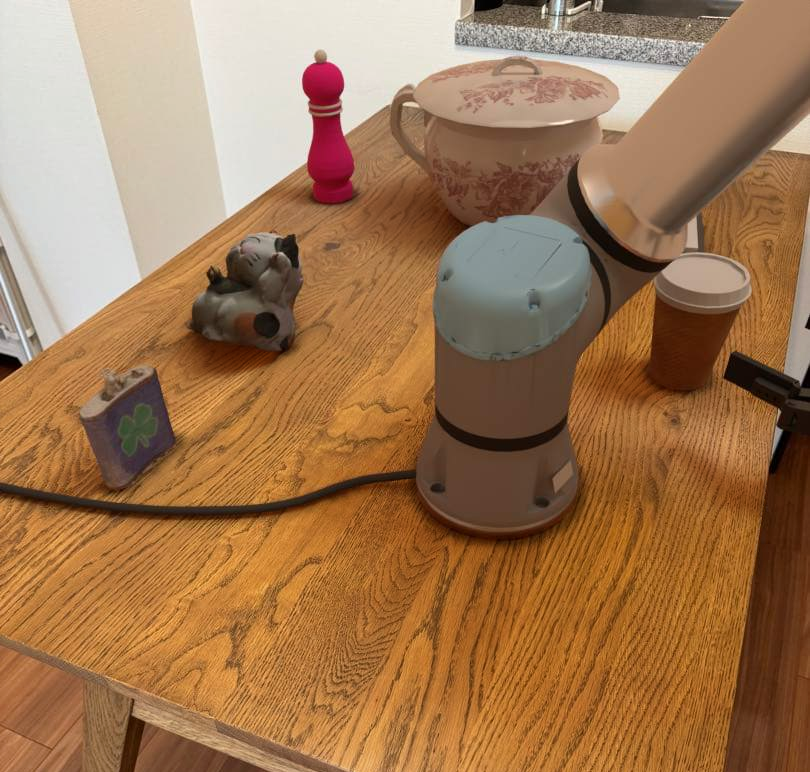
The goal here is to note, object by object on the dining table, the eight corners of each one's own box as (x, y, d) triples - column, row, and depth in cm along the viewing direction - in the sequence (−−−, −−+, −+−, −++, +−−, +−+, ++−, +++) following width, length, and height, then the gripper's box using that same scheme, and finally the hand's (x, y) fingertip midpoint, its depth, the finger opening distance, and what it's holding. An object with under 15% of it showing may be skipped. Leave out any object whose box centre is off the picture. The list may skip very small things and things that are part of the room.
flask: (120, 495, 75) (84, 403, 67) (97, 486, 76) (59, 394, 68) (183, 441, 80) (156, 350, 73) (161, 433, 81) (132, 343, 74)
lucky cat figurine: (180, 322, 97) (199, 204, 92) (275, 341, 102) (297, 230, 97) (195, 350, 84) (218, 215, 79) (302, 370, 89) (329, 245, 84)
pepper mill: (365, 191, 123) (356, 46, 109) (338, 208, 119) (325, 59, 105) (328, 183, 126) (315, 40, 112) (301, 199, 122) (283, 53, 107)
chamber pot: (641, 221, 113) (672, 58, 98) (492, 276, 103) (501, 104, 88) (517, 163, 130) (527, 16, 115) (378, 205, 119) (370, 50, 105)
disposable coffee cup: (726, 403, 82) (760, 299, 74) (633, 394, 84) (656, 291, 75) (719, 354, 89) (750, 253, 80) (633, 347, 90) (655, 247, 82)
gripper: (904, 546, 61) (681, 421, 73) (1044, 419, 71) (828, 327, 83) (949, 473, 56) (700, 351, 67) (1093, 347, 66) (855, 260, 78)
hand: (771, 338), depth 75 cm, fingers open, 13 cm apart
